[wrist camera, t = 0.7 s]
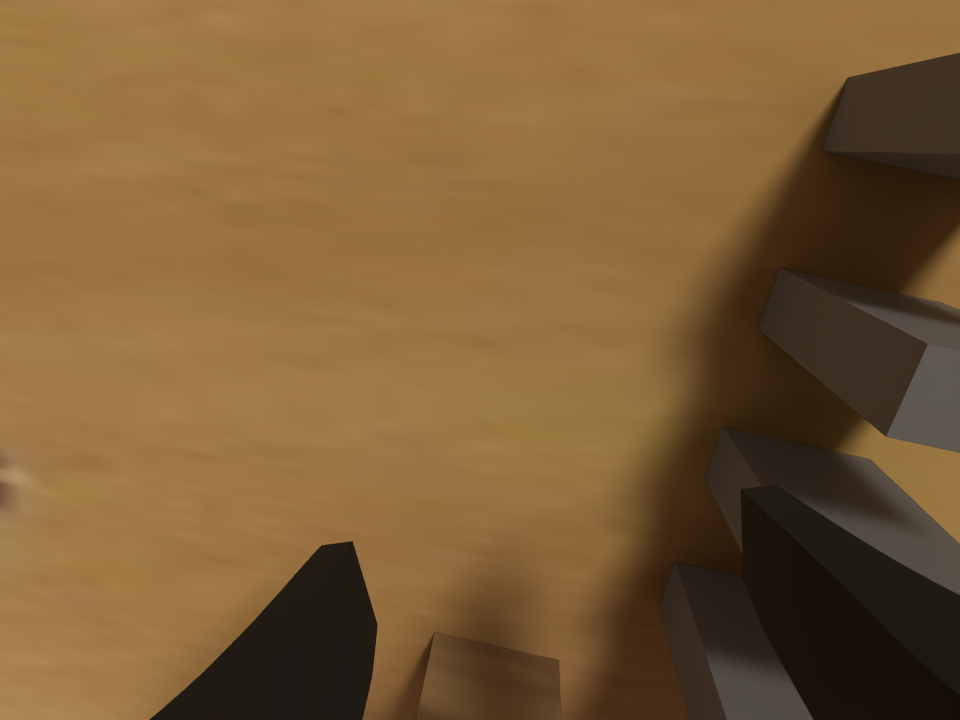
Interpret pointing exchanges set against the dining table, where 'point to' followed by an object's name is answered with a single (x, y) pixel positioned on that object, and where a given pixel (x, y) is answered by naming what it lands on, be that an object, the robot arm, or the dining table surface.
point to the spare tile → (487, 683)
